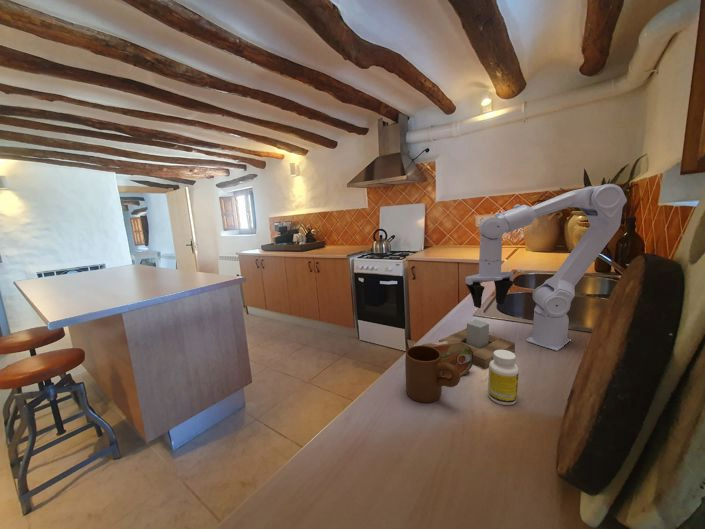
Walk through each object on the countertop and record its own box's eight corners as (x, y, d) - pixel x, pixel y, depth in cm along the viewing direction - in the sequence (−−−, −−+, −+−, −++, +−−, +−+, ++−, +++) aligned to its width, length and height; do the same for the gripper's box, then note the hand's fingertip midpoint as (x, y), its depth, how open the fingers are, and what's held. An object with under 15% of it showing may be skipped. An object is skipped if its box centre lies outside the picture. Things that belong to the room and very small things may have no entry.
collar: (468, 334, 90) (468, 327, 89) (514, 351, 78) (515, 342, 78) (438, 348, 82) (438, 340, 82) (485, 369, 71) (485, 360, 70)
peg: (474, 346, 82) (475, 319, 81) (488, 351, 79) (489, 323, 78) (466, 350, 80) (466, 323, 79) (479, 355, 77) (480, 327, 76)
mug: (468, 400, 60) (469, 359, 58) (449, 420, 55) (450, 374, 53) (418, 378, 68) (418, 341, 67) (398, 393, 63) (397, 353, 62)
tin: (414, 383, 67) (413, 350, 65) (409, 376, 70) (408, 343, 68) (474, 374, 69) (475, 341, 67) (467, 367, 72) (467, 336, 70)
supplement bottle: (520, 407, 57) (523, 361, 55) (491, 404, 58) (493, 360, 56) (511, 390, 62) (514, 348, 60) (484, 388, 63) (486, 347, 62)
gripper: (477, 264, 77) (476, 313, 79) (522, 259, 80) (520, 306, 83) (461, 260, 83) (460, 305, 86) (503, 255, 87) (501, 299, 89)
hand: (488, 305), depth 85 cm, fingers open, 7 cm apart
